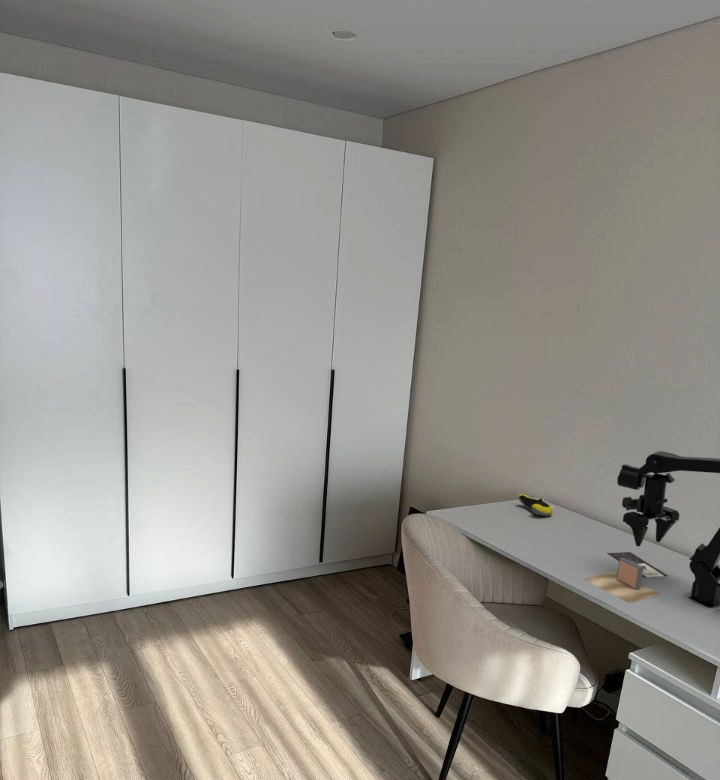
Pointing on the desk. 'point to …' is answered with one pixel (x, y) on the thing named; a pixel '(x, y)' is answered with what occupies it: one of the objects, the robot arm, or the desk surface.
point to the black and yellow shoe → (536, 505)
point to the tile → (630, 573)
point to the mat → (621, 588)
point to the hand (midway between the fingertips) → (647, 543)
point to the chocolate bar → (647, 568)
